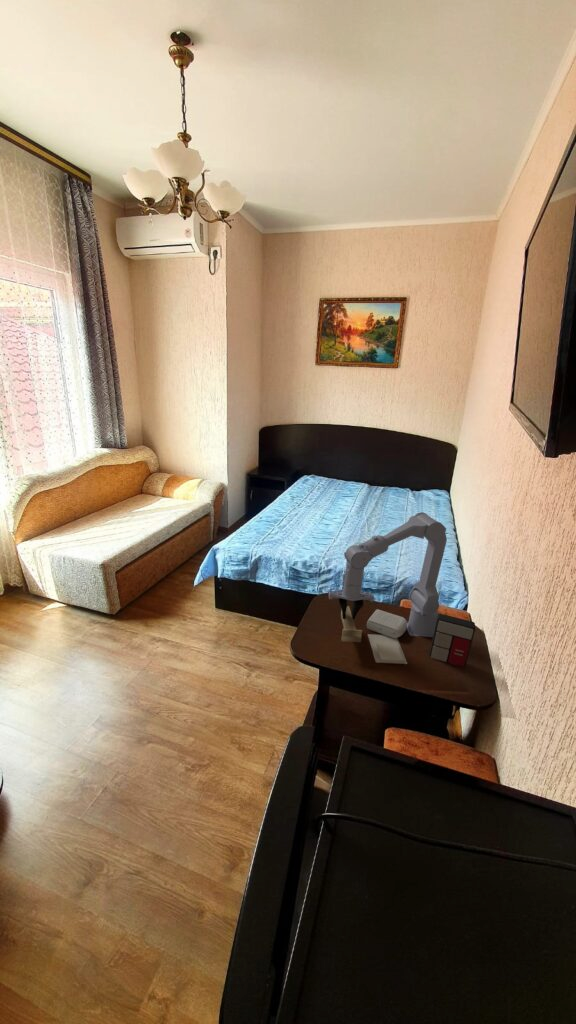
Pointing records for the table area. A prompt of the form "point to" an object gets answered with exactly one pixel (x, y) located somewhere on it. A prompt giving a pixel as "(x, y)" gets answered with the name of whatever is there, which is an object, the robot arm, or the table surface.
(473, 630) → the grey red panelled box
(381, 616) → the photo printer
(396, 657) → the tile
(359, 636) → the tan wooden slat
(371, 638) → the mat
